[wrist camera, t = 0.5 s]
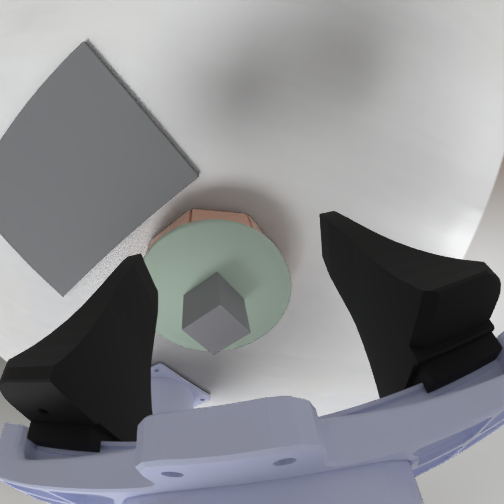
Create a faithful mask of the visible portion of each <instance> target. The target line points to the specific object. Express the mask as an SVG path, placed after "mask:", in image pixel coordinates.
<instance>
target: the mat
mask: <svg viewBox="0 0 504 504" xmlns="http://www.w3.org/2000/svg"><path fill="white" fill-rule="evenodd" d="M198 177H199V175H198V174H197V172H196V171H195V170H194V169H193V168H192V167H191V165H190V164H189V163H188V162H187V161H186V159H185V158H184V157H183V156H182V155H181V153H180V152H179V151H178V150H177V149H176V148H175V146H174V145H173V144H172V143H171V142H170V140H169V139H168V138H167V137H166V136H165V135H164V133H163V132H162V131H161V130H160V129H159V127H158V126H157V125H156V124H155V123H154V122H153V120H152V119H151V118H150V117H149V116H148V114H147V113H146V112H145V111H144V110H143V109H142V107H141V106H140V105H139V104H138V103H137V102H136V100H135V99H134V98H133V97H132V96H131V94H130V93H129V92H128V91H127V90H126V89H125V87H124V86H123V85H122V84H121V83H120V82H119V80H118V79H117V78H116V77H115V76H114V75H113V73H112V72H111V71H110V70H109V69H108V68H107V66H106V65H105V64H104V63H103V62H102V61H101V59H100V58H99V57H98V56H97V55H96V54H95V53H94V51H93V50H92V49H91V48H90V47H89V46H88V44H87V43H86V42H82V43H81V44H80V45H79V46H78V47H77V48H76V49H75V50H74V51H73V52H72V53H71V54H70V55H69V56H68V57H67V58H66V59H65V60H64V61H63V62H62V63H61V64H60V65H59V66H58V68H57V69H56V70H55V71H54V72H53V73H52V74H51V75H50V76H49V77H48V79H47V80H46V81H45V82H44V83H43V84H42V86H41V87H40V88H39V89H38V90H37V91H36V93H35V94H34V95H33V96H32V98H31V99H30V100H29V101H28V103H27V104H26V105H25V106H24V108H23V109H22V110H21V112H20V113H19V114H18V116H17V117H16V118H15V120H14V121H13V123H12V124H11V125H10V127H9V128H8V130H7V131H6V132H5V134H4V135H3V137H2V138H1V140H0V234H1V235H2V236H3V238H4V239H5V240H6V241H7V242H8V243H9V244H10V245H11V246H12V247H13V248H14V249H15V251H16V252H17V253H18V254H19V255H20V256H21V257H22V258H23V259H24V260H25V261H26V262H27V263H28V264H29V265H30V266H31V267H32V268H33V269H34V270H35V271H36V272H37V273H38V274H39V275H40V276H41V277H42V278H43V279H44V280H45V281H46V282H48V283H49V284H50V285H51V286H52V287H53V288H54V289H55V290H56V291H57V292H58V293H59V294H60V295H62V296H64V295H65V294H66V293H67V292H68V291H69V290H70V289H71V288H72V287H73V286H75V285H76V284H77V283H78V282H79V281H80V280H81V279H82V278H83V277H84V276H85V275H86V274H87V273H88V272H89V271H90V270H91V269H92V268H93V267H94V266H95V265H96V264H97V263H98V262H99V261H101V260H102V259H103V258H104V257H105V256H106V255H107V254H108V253H109V252H110V251H111V250H112V249H114V248H115V247H116V246H117V245H118V244H119V243H120V242H121V241H122V240H124V239H125V238H126V237H127V236H128V235H129V234H130V233H131V232H133V231H134V230H135V229H136V228H137V227H138V226H139V225H141V224H142V223H143V222H144V221H145V220H146V219H148V218H149V217H150V216H151V215H152V214H154V213H155V212H156V211H157V210H158V209H159V208H161V207H162V206H163V205H164V204H166V203H167V202H168V201H169V200H170V199H172V198H173V197H174V196H175V195H177V194H178V193H179V192H180V191H181V190H183V189H184V188H185V187H187V186H188V185H189V184H190V183H192V182H193V181H194V180H195V179H197V178H198Z"/></svg>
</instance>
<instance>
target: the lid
mask: <svg viewBox="0 0 504 504" xmlns="http://www.w3.org/2000/svg"><path fill="white" fill-rule="evenodd" d="M143 259H144V262H145V264H146V266H147V268H148V271H149V273H150V275H151V277H152V279H153V282H154V284H155V286H156V288H157V290H158V317H157V324H156V330H155V331H156V332H157V333H158V334H160V335H161V336H163V337H164V338H165V339H167V340H169V341H171V342H173V343H175V344H177V345H180V346H182V347H186V348H189V349H194V350H200V351H209V352H211V353H212V354H213V355H214V354H216V353H218V352H219V351H223V350H229V349H234V348H238V347H241V346H244V345H246V344H249V343H251V342H253V341H255V340H257V339H259V338H260V337H262V336H263V335H265V334H266V333H267V332H268V331H269V330H271V329H272V328H273V327H274V326H275V325H276V324H277V323H278V321H279V320H280V318H281V317H282V316H283V314H284V312H285V310H286V308H287V306H288V303H289V300H290V295H291V276H290V273H289V269H288V267H287V264H286V262H285V260H284V258H283V256H282V254H281V252H280V251H279V249H278V248H277V246H276V245H275V244H274V243H273V242H272V241H271V240H270V239H269V238H268V237H266V236H265V235H264V234H263V233H261V232H259V231H258V230H256V229H254V228H252V227H250V226H247V225H245V224H242V223H238V222H235V221H230V220H223V219H207V220H199V221H194V222H190V223H187V224H184V225H181V226H178V227H176V228H174V229H173V230H171V231H169V232H167V233H166V234H164V235H163V236H162V237H160V238H159V239H158V240H157V241H156V242H155V243H154V244H153V245H152V246H151V247H150V249H149V250H148V251H147V253H146V255H145V256H144V258H143Z"/></svg>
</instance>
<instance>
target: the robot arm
mask: <svg viewBox="0 0 504 504" xmlns="http://www.w3.org/2000/svg"><path fill="white" fill-rule="evenodd" d="M320 228H321V242H322V257H323V259H324V262H325V265H326V267H327V270H328V272H329V275H330V277H331V279H332V281H333V283H334V285H335V286H336V288H337V290H338V292H339V294H340V296H341V297H342V299H343V301H344V303H345V305H346V306H347V308H348V310H349V312H350V314H351V316H352V318H353V320H354V322H355V324H356V326H357V329H358V332H359V334H360V337H361V340H362V342H363V345H364V348H365V351H366V354H367V357H368V360H369V362H370V366H371V369H372V372H373V375H374V379H375V382H376V386H377V389H378V393H379V397H380V399H378V400H374V401H371V402H368V403H365V404H362V405H359V406H356V407H352V408H349V409H346V410H342V411H339V412H335V413H332V414H328V415H324V416H320V417H318V416H317V413H316V409H315V408H314V406H313V405H312V404H311V403H310V401H308V400H305V399H301V398H297V397H292V396H278V397H266V398H261V399H255V400H250V401H244V402H238V403H232V404H226V405H219V406H212V407H205V408H197V409H194V406H196V405H199V404H201V403H203V402H205V401H207V400H209V399H210V395H209V394H208V393H206V392H204V391H203V390H201V389H200V388H198V387H196V386H195V385H193V384H192V383H190V382H189V381H187V380H186V379H184V378H183V377H181V376H180V375H178V374H177V373H175V372H174V371H172V370H171V369H169V368H168V367H166V366H165V365H164V364H161V363H158V364H156V365H154V366H153V367H151V359H152V351H153V344H154V337H155V330H156V324H157V317H158V290H157V288H156V286H155V284H154V282H153V279H152V277H151V275H150V273H149V271H148V268H147V266H146V264H145V262H144V259H143V257H142V255H141V254H137V255H133V256H128V257H127V258H126V259H124V260H123V261H122V262H121V264H120V265H119V266H118V267H117V268H116V269H115V270H114V271H113V272H112V274H111V275H110V276H109V277H108V278H107V279H106V280H105V282H104V283H103V284H102V285H101V286H100V287H99V288H98V289H97V291H96V292H95V293H94V294H93V295H92V296H91V297H90V298H89V299H88V300H87V301H86V303H85V304H84V305H83V306H82V307H81V308H80V309H79V310H78V311H76V312H75V313H74V314H73V315H72V316H71V317H70V318H69V319H68V320H67V321H65V322H64V323H63V324H62V325H60V326H59V327H58V328H57V329H56V330H54V331H53V332H52V333H51V334H49V335H48V336H47V337H45V338H44V339H42V340H41V341H39V342H38V343H36V344H35V345H34V346H32V347H30V348H29V349H27V350H25V351H24V352H22V353H20V354H18V355H17V356H15V357H13V358H11V359H9V360H8V362H7V364H6V367H5V369H4V371H3V374H2V377H1V379H0V391H1V393H2V395H3V396H4V397H5V399H6V400H7V401H8V402H9V403H10V404H11V405H12V406H14V407H15V408H16V409H17V410H18V411H19V412H21V413H22V414H23V415H24V416H25V417H26V418H28V419H29V420H30V421H31V423H30V427H29V428H28V427H26V426H24V425H20V424H14V423H4V427H3V430H2V434H1V438H0V481H2V482H4V483H5V484H7V485H9V486H11V487H13V488H15V489H17V490H19V491H21V492H23V493H25V494H27V495H29V496H31V497H33V498H35V499H37V500H41V501H44V502H48V503H51V504H424V502H423V499H422V497H421V493H420V491H419V488H418V485H417V482H416V479H415V477H416V476H418V475H420V474H422V473H424V472H426V471H428V470H430V469H432V468H434V467H436V466H438V465H440V464H442V463H444V462H445V461H447V460H449V459H451V458H453V457H454V456H456V455H457V454H459V453H461V452H463V451H464V450H466V449H468V448H469V447H471V446H472V445H474V444H476V443H477V442H479V441H480V440H482V439H483V438H485V437H486V436H488V435H489V434H491V433H492V432H494V431H495V430H497V429H498V428H500V427H501V426H502V425H504V332H503V333H501V334H500V335H499V336H498V337H497V338H496V337H495V336H494V334H493V333H492V331H493V330H494V325H493V324H492V322H491V321H490V320H489V319H490V317H491V315H492V312H493V310H494V308H495V305H496V302H497V301H498V298H499V294H500V287H501V283H500V279H499V278H498V276H497V275H496V274H495V273H494V272H493V271H492V270H491V269H490V268H489V267H488V266H487V265H486V264H485V263H484V262H478V261H470V260H461V259H455V258H450V257H444V256H440V255H435V254H432V253H428V252H424V251H421V250H417V249H414V248H411V247H409V246H406V245H403V244H400V243H398V242H395V241H393V240H390V239H388V238H386V237H384V236H382V235H380V234H377V233H375V232H373V231H371V230H369V229H367V228H366V227H364V226H362V225H360V224H358V223H356V222H354V221H353V220H351V219H349V218H347V217H345V216H343V215H341V214H339V213H337V212H335V211H332V212H327V213H322V214H320ZM156 369H158V370H156Z"/></svg>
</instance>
